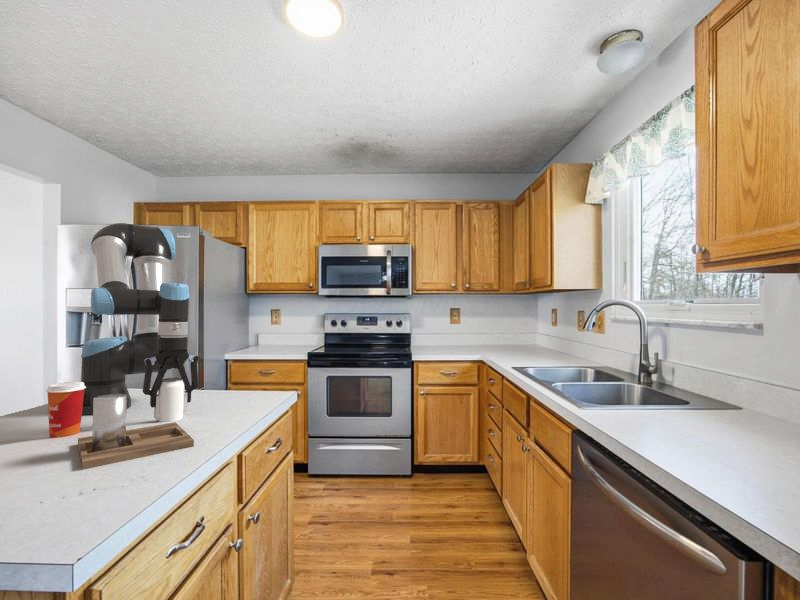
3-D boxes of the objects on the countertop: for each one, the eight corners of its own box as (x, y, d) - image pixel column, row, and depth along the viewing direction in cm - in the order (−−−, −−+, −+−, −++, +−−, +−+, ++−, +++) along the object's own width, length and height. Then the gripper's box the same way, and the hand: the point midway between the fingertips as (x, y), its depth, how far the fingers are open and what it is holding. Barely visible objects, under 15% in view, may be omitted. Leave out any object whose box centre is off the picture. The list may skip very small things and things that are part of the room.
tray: (77, 451, 89) (77, 438, 89) (175, 433, 103) (175, 422, 103) (82, 477, 76) (82, 461, 76) (193, 452, 89) (193, 439, 89)
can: (174, 424, 108) (176, 382, 108) (152, 424, 108) (153, 381, 108) (188, 418, 114) (189, 377, 114) (166, 417, 114) (167, 377, 114)
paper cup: (45, 438, 97) (47, 383, 98) (84, 432, 102) (86, 380, 102) (42, 447, 91) (44, 388, 92) (84, 440, 96) (86, 384, 96)
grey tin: (90, 450, 86) (92, 396, 86) (123, 444, 90) (124, 392, 90) (92, 458, 82) (94, 401, 82) (127, 451, 86) (128, 397, 86)
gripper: (135, 338, 102) (132, 425, 102) (212, 336, 115) (210, 413, 115) (130, 336, 108) (128, 419, 107) (205, 334, 121) (202, 407, 120)
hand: (170, 415), depth 111 cm, fingers closed on can, 6 cm apart
